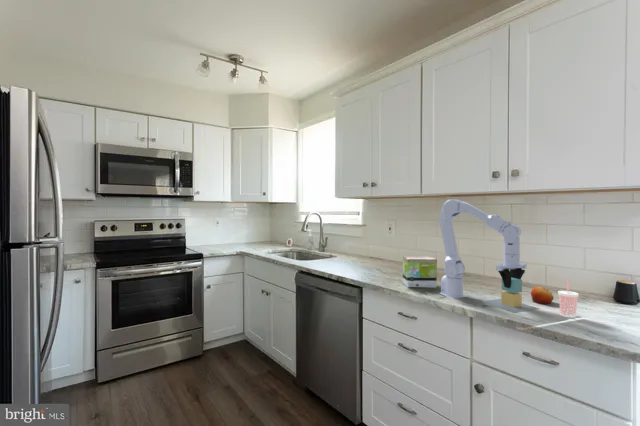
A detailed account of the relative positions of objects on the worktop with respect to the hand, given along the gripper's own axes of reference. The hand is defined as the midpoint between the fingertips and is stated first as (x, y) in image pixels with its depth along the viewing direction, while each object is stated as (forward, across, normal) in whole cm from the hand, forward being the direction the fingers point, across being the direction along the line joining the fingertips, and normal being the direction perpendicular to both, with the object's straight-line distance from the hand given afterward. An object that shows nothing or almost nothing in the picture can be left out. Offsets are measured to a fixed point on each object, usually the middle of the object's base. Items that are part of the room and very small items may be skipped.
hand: (511, 287), depth 136 cm
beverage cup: (+8, +8, -17) cm, 20 cm away
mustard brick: (+7, 0, 0) cm, 7 cm away
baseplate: (+8, -1, 0) cm, 8 cm away
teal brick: (+2, 0, 0) cm, 2 cm away
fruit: (+8, +15, -2) cm, 17 cm away
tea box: (+8, -13, +43) cm, 46 cm away
